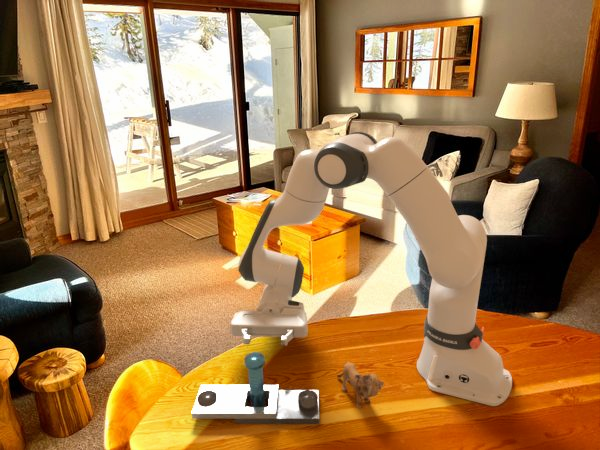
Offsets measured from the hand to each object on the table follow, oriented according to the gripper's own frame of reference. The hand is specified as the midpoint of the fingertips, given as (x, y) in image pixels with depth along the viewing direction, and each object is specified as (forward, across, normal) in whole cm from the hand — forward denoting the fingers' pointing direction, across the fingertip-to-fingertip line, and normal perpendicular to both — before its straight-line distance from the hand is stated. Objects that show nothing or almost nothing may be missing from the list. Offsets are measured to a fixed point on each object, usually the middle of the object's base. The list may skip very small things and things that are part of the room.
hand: (265, 342), depth 114 cm
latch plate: (+12, 0, +10) cm, 15 cm away
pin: (+12, 0, +10) cm, 15 cm away
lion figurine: (+6, +23, +10) cm, 26 cm away
